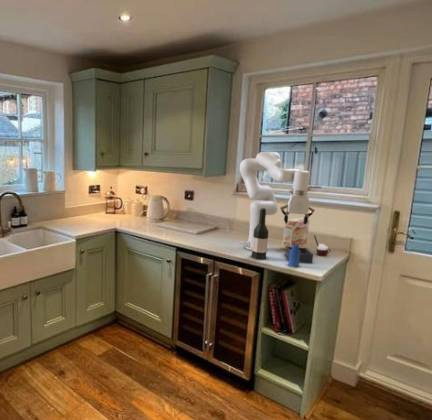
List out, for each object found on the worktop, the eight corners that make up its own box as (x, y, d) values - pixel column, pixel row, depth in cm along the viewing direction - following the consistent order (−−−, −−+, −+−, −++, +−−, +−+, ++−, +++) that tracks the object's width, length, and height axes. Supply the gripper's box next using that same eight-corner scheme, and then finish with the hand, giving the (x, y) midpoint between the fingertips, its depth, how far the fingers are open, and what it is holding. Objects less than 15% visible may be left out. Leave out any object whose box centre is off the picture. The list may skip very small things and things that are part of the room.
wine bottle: (248, 255, 219) (253, 207, 214) (261, 255, 220) (266, 207, 214) (255, 259, 211) (259, 209, 205) (268, 259, 212) (273, 209, 206)
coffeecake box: (290, 251, 230) (294, 221, 226) (281, 248, 236) (284, 219, 233) (306, 248, 236) (310, 219, 233) (297, 245, 242) (300, 217, 239)
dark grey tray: (290, 261, 210) (291, 252, 209) (285, 254, 223) (285, 246, 222) (312, 262, 207) (313, 254, 206) (305, 256, 220) (306, 248, 219)
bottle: (289, 266, 200) (292, 245, 198) (287, 263, 205) (289, 243, 202) (299, 267, 199) (302, 246, 197) (297, 264, 203) (299, 244, 201)
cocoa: (330, 254, 223) (332, 236, 221) (328, 257, 218) (331, 238, 216) (312, 252, 229) (315, 233, 227) (311, 254, 224) (313, 235, 222)
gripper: (283, 193, 195) (280, 223, 199) (318, 195, 191) (314, 226, 195) (281, 191, 203) (277, 220, 206) (314, 193, 199) (310, 223, 202)
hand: (295, 223), depth 200 cm, fingers open, 9 cm apart
